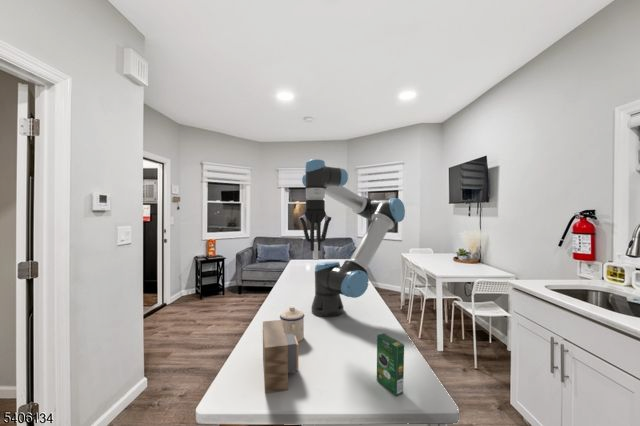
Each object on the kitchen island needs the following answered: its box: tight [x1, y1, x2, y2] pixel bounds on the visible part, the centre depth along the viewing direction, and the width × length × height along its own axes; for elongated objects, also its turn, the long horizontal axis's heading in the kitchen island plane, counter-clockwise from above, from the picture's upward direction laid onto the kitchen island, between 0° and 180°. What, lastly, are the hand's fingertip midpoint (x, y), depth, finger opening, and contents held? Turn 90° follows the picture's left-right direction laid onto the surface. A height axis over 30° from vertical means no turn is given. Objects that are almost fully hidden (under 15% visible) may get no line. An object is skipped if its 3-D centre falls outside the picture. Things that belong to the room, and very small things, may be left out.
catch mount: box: [262, 319, 289, 394], centre depth 84 cm, size 6×18×12 cm, turn 13°
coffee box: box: [376, 332, 405, 397], centre depth 77 cm, size 8×3×13 cm, turn 29°
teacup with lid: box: [279, 306, 305, 343], centre depth 106 cm, size 12×9×12 cm
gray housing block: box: [285, 334, 299, 374], centre depth 85 cm, size 9×7×8 cm
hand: (315, 259), depth 114 cm, fingers closed
